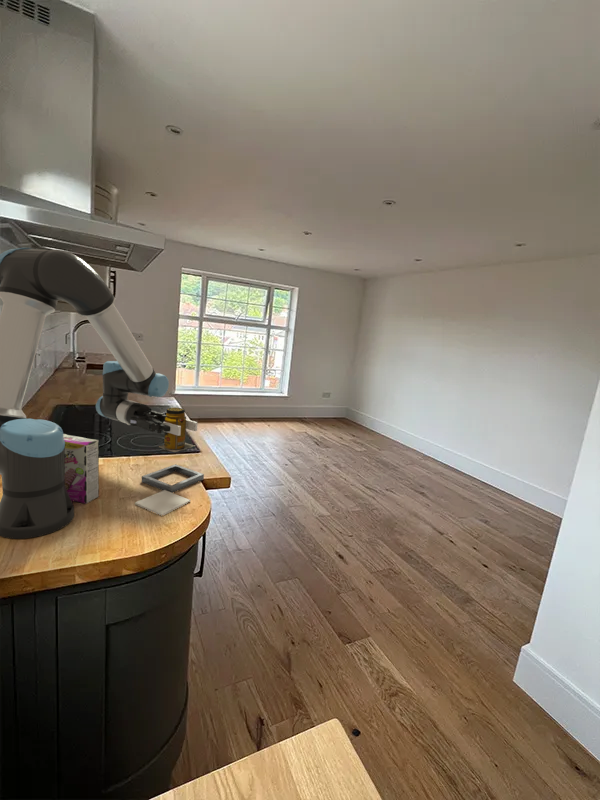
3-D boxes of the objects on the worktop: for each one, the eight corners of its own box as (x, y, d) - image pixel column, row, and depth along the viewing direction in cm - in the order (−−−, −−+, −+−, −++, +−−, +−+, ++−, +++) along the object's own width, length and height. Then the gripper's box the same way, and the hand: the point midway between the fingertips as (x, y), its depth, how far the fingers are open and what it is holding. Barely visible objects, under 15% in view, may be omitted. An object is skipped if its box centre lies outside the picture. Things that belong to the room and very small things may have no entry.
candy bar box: (48, 497, 98) (47, 437, 95) (64, 490, 103) (62, 433, 100) (86, 505, 96) (85, 444, 93) (99, 497, 101) (99, 439, 98)
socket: (171, 493, 107) (171, 487, 107) (141, 481, 112) (141, 476, 112) (203, 479, 119) (203, 474, 118) (175, 469, 124) (175, 464, 124)
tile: (161, 516, 94) (161, 514, 94) (135, 504, 99) (135, 502, 99) (190, 502, 103) (190, 500, 103) (164, 491, 108) (164, 489, 108)
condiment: (157, 447, 112) (158, 408, 110) (179, 441, 119) (181, 404, 117) (174, 453, 109) (175, 413, 106) (196, 446, 116) (197, 409, 114)
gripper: (158, 420, 129) (209, 434, 119) (107, 430, 112) (162, 448, 102) (158, 399, 128) (210, 411, 117) (108, 406, 111) (163, 422, 101)
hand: (188, 428), depth 110 cm, fingers closed on condiment, 6 cm apart
